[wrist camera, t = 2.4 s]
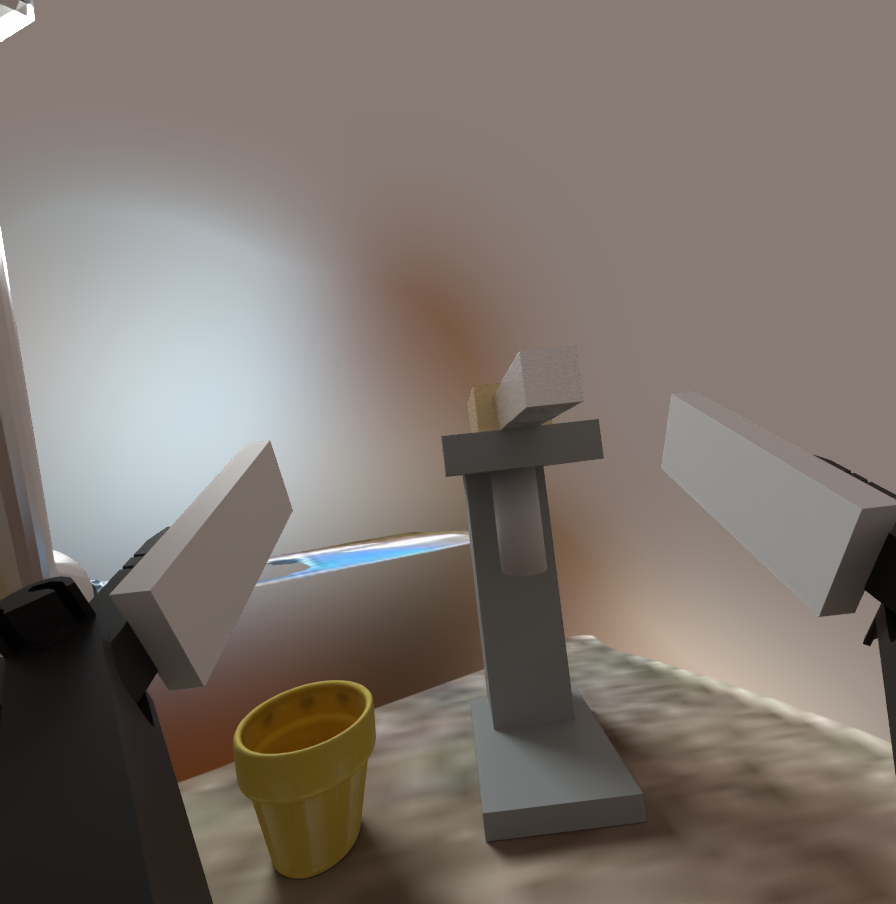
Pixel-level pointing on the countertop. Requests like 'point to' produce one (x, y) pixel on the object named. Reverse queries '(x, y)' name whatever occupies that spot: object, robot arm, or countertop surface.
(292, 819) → the plant pot
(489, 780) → the press stand
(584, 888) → the countertop surface
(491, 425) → the metal block
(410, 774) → the countertop surface
